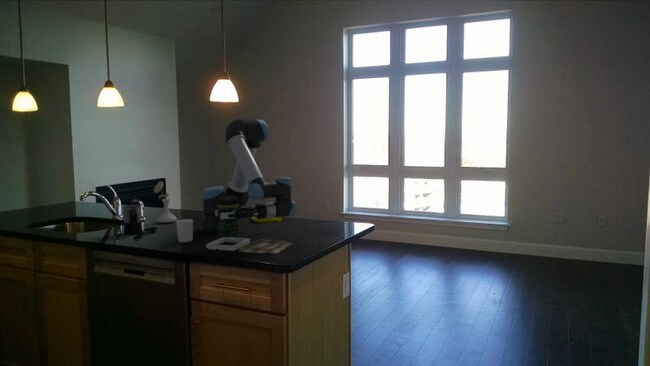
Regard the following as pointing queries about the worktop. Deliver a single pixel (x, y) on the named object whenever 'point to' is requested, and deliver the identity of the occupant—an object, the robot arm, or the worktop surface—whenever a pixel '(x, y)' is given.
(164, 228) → the worktop surface
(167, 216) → the flower in vase
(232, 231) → the coffee jar
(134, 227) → the milk frother
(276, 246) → the brown flat square slab
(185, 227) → the white cup
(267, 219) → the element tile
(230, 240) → the frame
